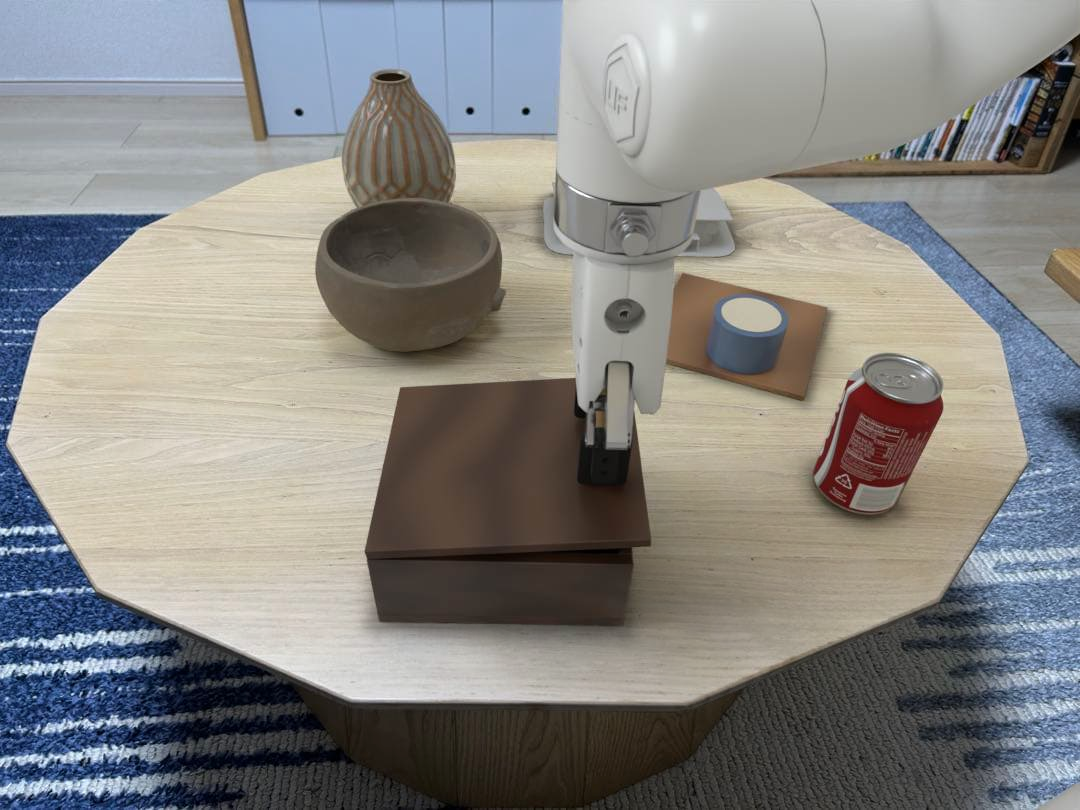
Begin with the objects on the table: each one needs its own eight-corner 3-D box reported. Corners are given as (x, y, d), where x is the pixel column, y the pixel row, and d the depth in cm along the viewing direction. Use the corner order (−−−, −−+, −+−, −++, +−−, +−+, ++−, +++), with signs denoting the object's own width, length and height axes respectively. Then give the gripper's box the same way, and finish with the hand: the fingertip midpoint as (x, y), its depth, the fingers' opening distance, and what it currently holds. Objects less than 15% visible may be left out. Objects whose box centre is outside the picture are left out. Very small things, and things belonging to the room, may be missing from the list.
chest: (608, 461, 65) (616, 399, 60) (623, 626, 53) (634, 565, 48) (408, 457, 64) (401, 395, 60) (378, 621, 52) (366, 560, 48)
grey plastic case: (740, 257, 90) (747, 227, 88) (545, 254, 90) (546, 224, 87) (715, 197, 102) (721, 169, 99) (542, 194, 101) (543, 166, 98)
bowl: (536, 317, 80) (538, 231, 73) (411, 402, 69) (400, 311, 63) (420, 260, 88) (412, 177, 81) (292, 328, 77) (272, 240, 71)
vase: (344, 203, 98) (322, 60, 86) (446, 192, 101) (437, 52, 89) (358, 255, 88) (335, 101, 77) (469, 240, 91) (463, 91, 80)
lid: (629, 382, 59) (629, 327, 55) (651, 547, 47) (653, 490, 44) (401, 394, 60) (388, 341, 56) (366, 559, 48) (346, 504, 44)
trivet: (826, 311, 82) (827, 307, 82) (803, 401, 71) (804, 396, 71) (681, 277, 87) (682, 272, 86) (638, 355, 76) (639, 351, 75)
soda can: (903, 526, 60) (964, 412, 52) (815, 514, 61) (861, 400, 53) (888, 465, 65) (941, 352, 57) (806, 454, 66) (848, 342, 58)
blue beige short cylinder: (783, 342, 77) (794, 304, 74) (770, 382, 72) (782, 344, 69) (715, 324, 79) (723, 287, 76) (698, 363, 74) (705, 324, 71)
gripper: (725, 296, 34) (668, 549, 46) (675, 139, 47) (641, 369, 59) (556, 292, 34) (543, 547, 46) (552, 135, 47) (543, 367, 59)
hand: (598, 445), depth 52 cm, fingers closed on lid, 5 cm apart
